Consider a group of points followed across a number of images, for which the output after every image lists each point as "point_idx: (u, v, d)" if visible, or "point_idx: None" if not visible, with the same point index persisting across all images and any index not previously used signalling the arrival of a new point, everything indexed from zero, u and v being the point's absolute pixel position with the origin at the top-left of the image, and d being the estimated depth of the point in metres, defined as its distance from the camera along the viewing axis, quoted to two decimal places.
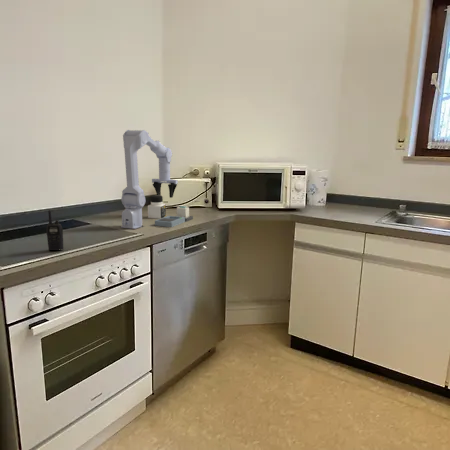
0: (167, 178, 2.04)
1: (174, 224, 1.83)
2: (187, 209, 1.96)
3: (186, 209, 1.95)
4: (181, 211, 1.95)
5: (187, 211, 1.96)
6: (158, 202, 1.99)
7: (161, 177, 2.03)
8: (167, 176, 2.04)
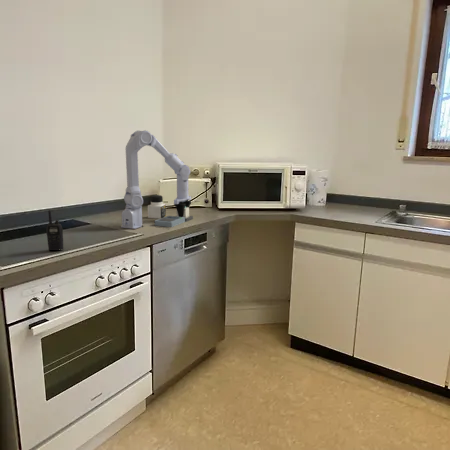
0: (178, 196, 1.93)
1: (174, 224, 1.83)
2: (187, 209, 1.96)
3: (186, 209, 1.95)
4: None
5: (187, 211, 1.96)
6: (158, 202, 1.99)
7: None
8: (178, 194, 1.93)
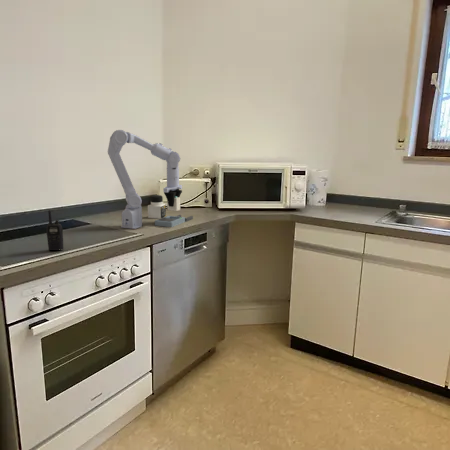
0: (168, 185, 1.85)
1: (174, 224, 1.83)
2: (178, 199, 1.88)
3: (177, 199, 1.87)
4: None
5: (178, 201, 1.88)
6: (158, 202, 1.99)
7: None
8: (168, 183, 1.85)
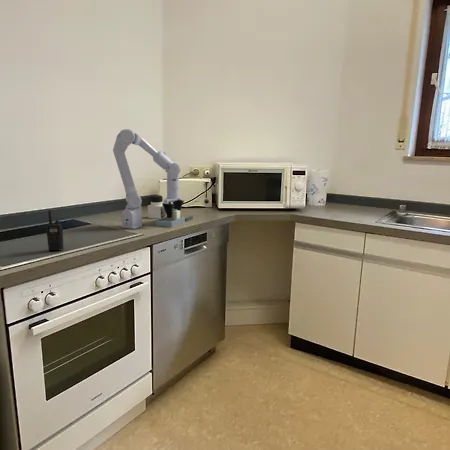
0: (168, 196, 1.86)
1: (174, 224, 1.83)
2: (178, 212, 1.89)
3: (177, 212, 1.88)
4: (172, 214, 1.88)
5: (178, 214, 1.89)
6: (158, 202, 1.99)
7: None
8: (168, 194, 1.86)
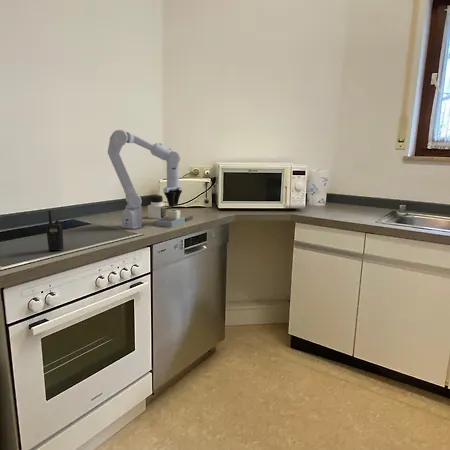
0: (167, 185, 1.85)
1: (174, 224, 1.83)
2: (178, 212, 1.89)
3: (177, 212, 1.88)
4: (172, 214, 1.88)
5: (178, 214, 1.89)
6: (158, 202, 1.99)
7: None
8: (167, 183, 1.85)
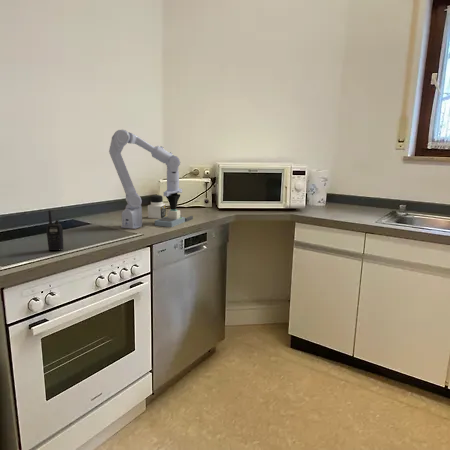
0: (168, 189, 1.86)
1: (174, 224, 1.83)
2: (178, 212, 1.89)
3: (177, 212, 1.88)
4: (172, 214, 1.88)
5: (178, 214, 1.89)
6: (158, 202, 1.99)
7: None
8: (168, 186, 1.85)
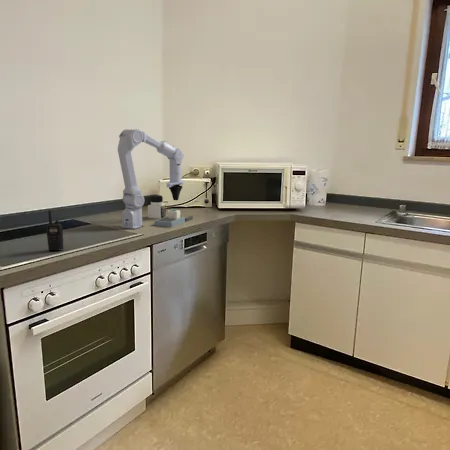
0: (170, 180, 1.95)
1: (174, 224, 1.83)
2: (178, 212, 1.89)
3: (177, 212, 1.88)
4: (172, 214, 1.88)
5: (178, 214, 1.89)
6: (158, 202, 1.99)
7: None
8: (170, 178, 1.95)
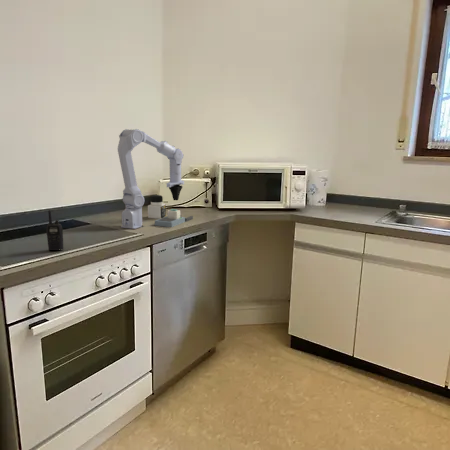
0: (170, 180, 1.95)
1: (174, 224, 1.83)
2: (178, 212, 1.89)
3: (177, 212, 1.88)
4: (172, 214, 1.88)
5: (178, 214, 1.89)
6: (158, 202, 1.99)
7: None
8: (170, 178, 1.95)
